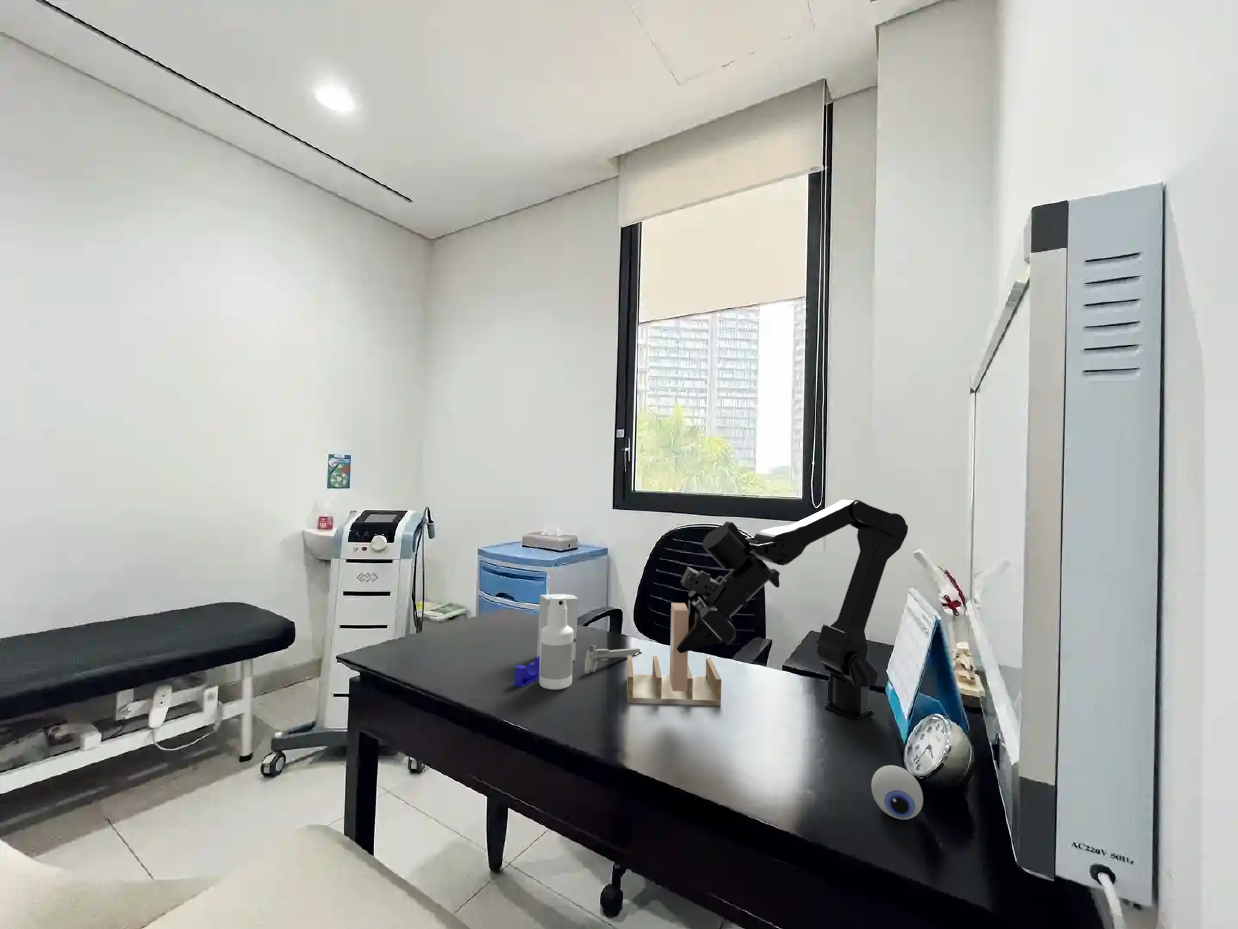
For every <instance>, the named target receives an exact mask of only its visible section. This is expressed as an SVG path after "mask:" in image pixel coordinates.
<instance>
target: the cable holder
mask: <svg viewBox="0 0 1238 929" xmlns="http://www.w3.org/2000/svg"><path fill="white" fill-rule="evenodd" d="M539 668H540V656H536V657H535V658H534V661H532V662H530V663H528V664H527V665H523V664H517V665H515V666H514V683H513V686H515V687H519V688H524V687H526V686H528V685H529V684H531V682H532V683H534V682H535V681H537V680H538V681H539ZM533 681H534V682H533ZM527 684H528V685H527ZM523 686H524V687H523Z"/></svg>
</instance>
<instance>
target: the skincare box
mask: <svg viewBox="0 0 1238 929" xmlns="http://www.w3.org/2000/svg"><path fill="white" fill-rule="evenodd" d="M561 595H562V596H566V607H567V625H568V626H569V627H571V628H572V629H573V661H576V653H577V650H576V649H577V633H578V631H577V630H578V629H577V628H578V615H579V614H578V612H579V598H578V597H577V596H575V595H574V594H572V593H551V594H550V593H549V594H548V593H547V594H540V595H539V611H538V612H539V613H538V628H537V629H538V630H537V631H538V632H537V650H536V657H538V656H540V636H541V630H542V628H544V627H546V626H547V625H548V608H549V605H550V597H551V596H552V597H559V596H561ZM573 661H572V662H573Z"/></svg>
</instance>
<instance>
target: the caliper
mask: <svg viewBox="0 0 1238 929" xmlns="http://www.w3.org/2000/svg"><path fill="white" fill-rule="evenodd" d="M640 650H641V649H640V648H637V647H636V648H621V649H612V650H610V649H608V648H598V649H597V645H594V644H593V645H589V646H588V650H586V652H585V653H586V654H585V659H584V674H587V675H590V673H592V672H593V673H592V674H594V673H595V672H596V670H597V667H598V665H599V662H602V663H605V662H607V663H608V661H609V659H611V658H621V657H623V658H624V657H627V655H628V656H632V657H634V656H636V655H635V654H636V653H638V652H640ZM633 655H634V656H633Z"/></svg>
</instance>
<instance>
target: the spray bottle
mask: <svg viewBox="0 0 1238 929" xmlns="http://www.w3.org/2000/svg"><path fill="white" fill-rule="evenodd" d="M572 681H573V629H572V628H571V627H569V626H568V625H567V607H566V596H562V595H561V596H559V597H552V596H551V597H550V605H549V608H548V625H547V626H546V627H544V628H542V630H541V636H540V668H539V679H538V684H539V686H540V687H542V688H544V689H545V690H546V689H547V690H555V691H556V690H563V689H567V688H568V687H570V686H571V685H572V683H573V682H572Z"/></svg>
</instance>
